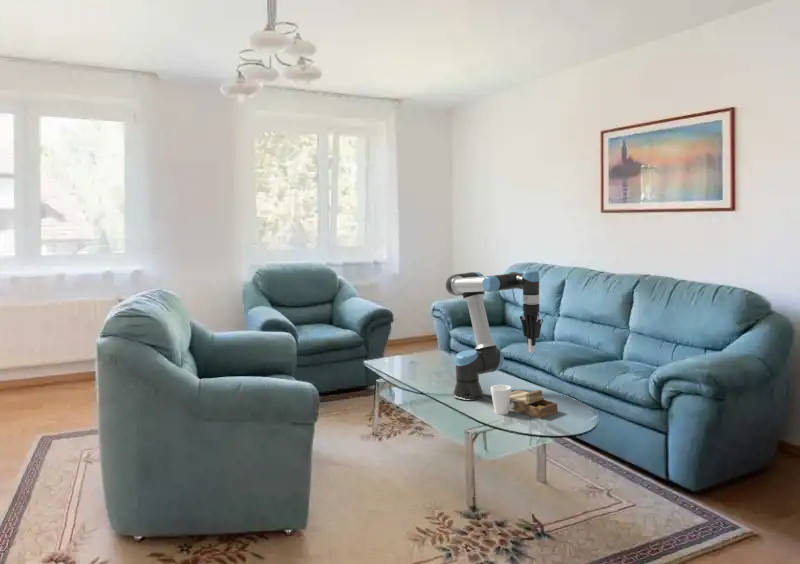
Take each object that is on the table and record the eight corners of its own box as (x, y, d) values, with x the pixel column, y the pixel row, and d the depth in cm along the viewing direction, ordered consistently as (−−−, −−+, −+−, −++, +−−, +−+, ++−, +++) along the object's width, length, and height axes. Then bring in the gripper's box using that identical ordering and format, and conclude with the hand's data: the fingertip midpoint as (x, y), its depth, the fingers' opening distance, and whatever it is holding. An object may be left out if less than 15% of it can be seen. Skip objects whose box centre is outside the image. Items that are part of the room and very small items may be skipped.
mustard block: (535, 413, 278) (534, 407, 278) (539, 411, 281) (539, 405, 281) (544, 415, 275) (544, 409, 274) (549, 413, 278) (549, 407, 277)
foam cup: (498, 419, 277) (497, 391, 275) (487, 413, 285) (486, 386, 284) (515, 415, 281) (515, 388, 279) (504, 409, 289) (503, 383, 287)
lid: (501, 397, 290) (501, 388, 289) (518, 391, 297) (518, 382, 296) (526, 404, 277) (526, 395, 276) (544, 398, 284) (543, 389, 283)
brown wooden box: (513, 412, 284) (513, 401, 284) (531, 406, 291) (530, 395, 291) (540, 421, 271) (539, 409, 271) (557, 414, 278) (557, 403, 278)
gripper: (515, 302, 285) (515, 350, 288) (536, 306, 275) (536, 356, 278) (526, 300, 289) (526, 348, 293) (547, 303, 279) (547, 353, 282)
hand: (531, 351), depth 285 cm, fingers closed
